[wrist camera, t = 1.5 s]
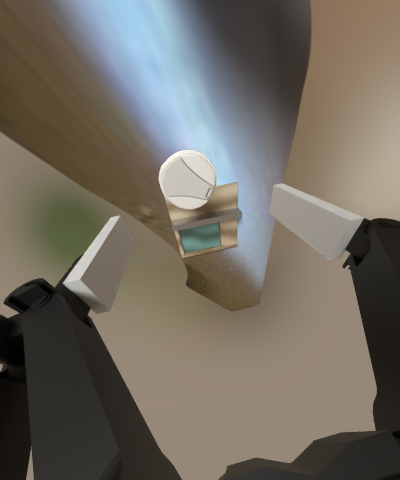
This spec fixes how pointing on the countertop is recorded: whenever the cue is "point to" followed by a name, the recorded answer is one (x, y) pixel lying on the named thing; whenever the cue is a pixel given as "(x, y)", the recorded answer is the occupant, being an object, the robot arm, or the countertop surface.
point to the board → (209, 233)
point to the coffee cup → (187, 179)
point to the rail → (206, 219)
